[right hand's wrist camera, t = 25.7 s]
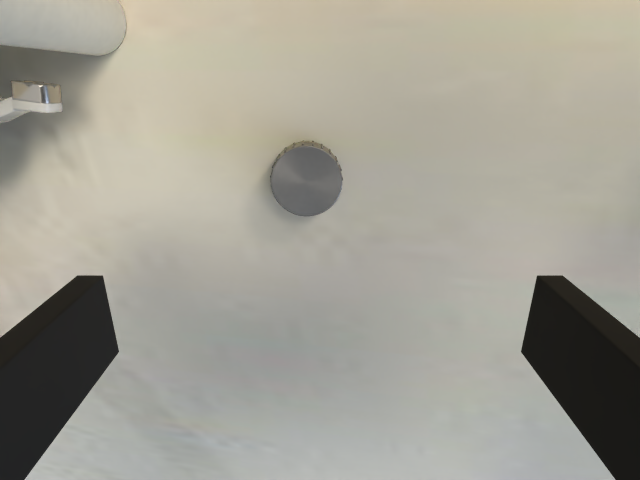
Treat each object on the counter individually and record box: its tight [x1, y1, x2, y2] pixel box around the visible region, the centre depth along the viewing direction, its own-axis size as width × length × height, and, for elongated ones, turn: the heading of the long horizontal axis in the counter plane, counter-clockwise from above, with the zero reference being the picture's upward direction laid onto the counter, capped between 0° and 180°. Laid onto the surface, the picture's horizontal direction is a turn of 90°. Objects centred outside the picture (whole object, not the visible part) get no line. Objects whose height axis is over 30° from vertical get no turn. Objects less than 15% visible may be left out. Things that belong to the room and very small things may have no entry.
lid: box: [270, 141, 343, 216], centre depth 30 cm, size 5×5×2 cm
